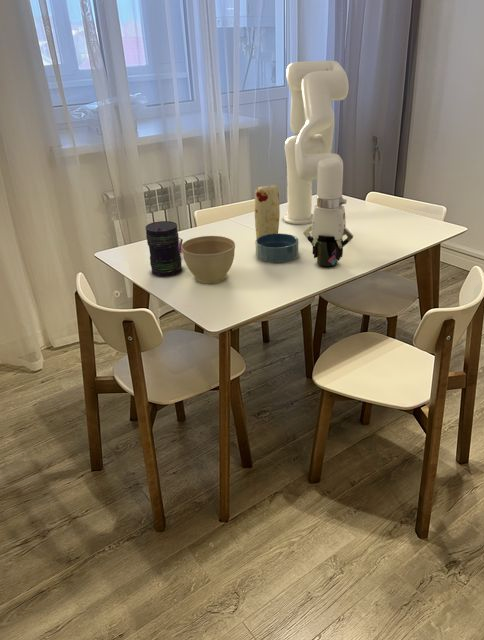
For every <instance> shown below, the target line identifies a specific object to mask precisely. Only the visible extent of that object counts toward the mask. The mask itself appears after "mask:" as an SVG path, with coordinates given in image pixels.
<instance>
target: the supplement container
mask: <svg viewBox="0 0 484 640" xmlns="http://www.w3.org/2000/svg"><path fill="white" fill-rule="evenodd" d="M336 241H337V240H335V237H334V236H322V235H318V240H317V258H316V264H317V266H318V267H320V268H321V269H332V268H335V267H337V266H338V262H339V260H337V248H338V244H337V242H336Z"/></svg>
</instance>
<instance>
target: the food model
mask: <svg viewBox="0 0 484 640" xmlns="http://www.w3.org/2000/svg"><path fill="white" fill-rule="evenodd" d="M280 204H281V203H280V193H279V187H278V186H277V184H271V185H263V186H261V185H260V186H258V187H256V188H255V190H254V225H255V240H256V239H257V238H258V237H261V236H263V235H267V234H277V233H279V228H280V218H281V217H280V216H281V209H280V206H281V205H280Z"/></svg>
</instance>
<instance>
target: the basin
mask: <svg viewBox="0 0 484 640" xmlns="http://www.w3.org/2000/svg"><path fill="white" fill-rule="evenodd" d="M298 256H299V238H298V237H297V236H295V235H292V234H288V233H279V232H278V233H277V234H267V235H263V236H261V237H258V238H257V239H256V238H255V257H256V258H257V259H258V260H260V261H263V262H268V263H275V264H276V263H286V262H290V261H292V260H294V259H297V258H298Z"/></svg>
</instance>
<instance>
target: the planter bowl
mask: <svg viewBox="0 0 484 640" xmlns="http://www.w3.org/2000/svg"><path fill="white" fill-rule="evenodd" d="M181 248H182V251H183V252H182V255H183V260H184V263H185V265H186V268H187V269H188V270H189V272H191V273H192V275H193V276H194V278H195V280H196V281H197V282H199V283H202V284H216V283H220V282H222V281H224V280H225V279H226V278H227V274H228V272H229V271H230V269H231V267H232V266H233V263H234V260H235V250H236V249H235V248H236V242H235V241H234V240H233V239H232V238H229V237H226V236H221V235H202V236H197V237H193V238H189V239H186V240H185V241H184V242H182V246H181Z"/></svg>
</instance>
